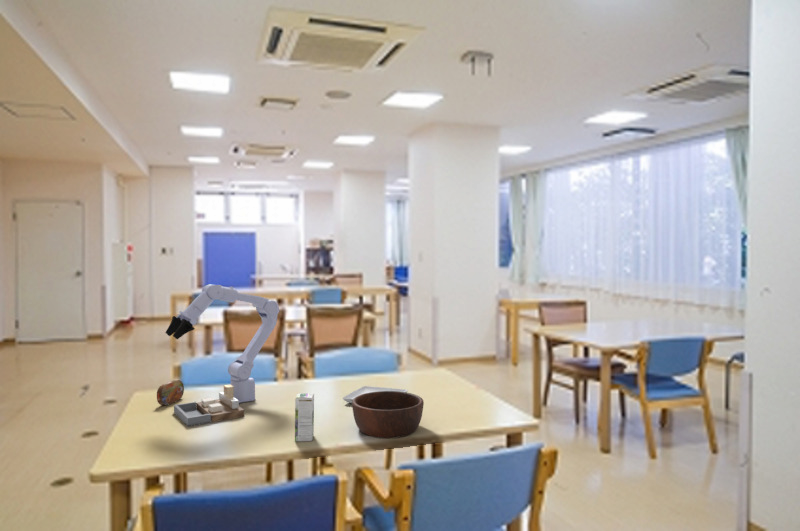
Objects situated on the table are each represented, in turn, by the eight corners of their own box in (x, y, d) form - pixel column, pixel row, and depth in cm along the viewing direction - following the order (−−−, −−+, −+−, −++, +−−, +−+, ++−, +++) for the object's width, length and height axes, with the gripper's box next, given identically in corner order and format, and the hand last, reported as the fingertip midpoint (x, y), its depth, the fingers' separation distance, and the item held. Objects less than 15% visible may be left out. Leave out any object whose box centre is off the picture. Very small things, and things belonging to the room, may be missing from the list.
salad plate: (341, 405, 216) (341, 397, 216) (364, 392, 236) (364, 384, 236) (389, 411, 208) (389, 402, 208) (408, 397, 228) (408, 389, 228)
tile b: (219, 408, 202) (219, 402, 202) (222, 410, 199) (222, 405, 199) (208, 410, 200) (208, 404, 200) (211, 412, 197) (211, 407, 197)
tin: (162, 408, 211) (161, 386, 211) (155, 407, 212) (154, 386, 212) (184, 397, 226) (184, 378, 226) (178, 397, 227) (177, 377, 227)
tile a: (211, 402, 210) (211, 397, 210) (215, 405, 206) (215, 399, 206) (201, 404, 207) (201, 399, 207) (204, 406, 204) (204, 401, 204)
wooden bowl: (429, 420, 196) (429, 392, 196) (415, 444, 172) (415, 412, 172) (364, 415, 202) (364, 388, 202) (342, 438, 177) (342, 407, 177)
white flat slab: (225, 398, 214) (225, 381, 214) (238, 408, 201) (238, 389, 201) (219, 399, 213) (218, 382, 213) (232, 409, 200) (232, 390, 200)
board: (226, 404, 217) (226, 397, 217) (244, 416, 201) (244, 409, 200) (196, 409, 210) (196, 402, 210) (211, 422, 193) (211, 415, 193)
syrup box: (296, 435, 179) (296, 393, 179) (314, 435, 180) (314, 392, 180) (294, 441, 174) (294, 397, 173) (313, 441, 174) (312, 397, 174)
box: (195, 409, 209) (195, 401, 209) (210, 422, 193) (210, 414, 193) (174, 412, 205) (173, 405, 205) (187, 426, 189) (187, 418, 189)
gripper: (181, 300, 212) (156, 326, 206) (196, 304, 202) (170, 332, 196) (194, 311, 216) (169, 337, 210) (209, 316, 206) (184, 344, 200)
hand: (171, 336), depth 203 cm, fingers open, 7 cm apart
